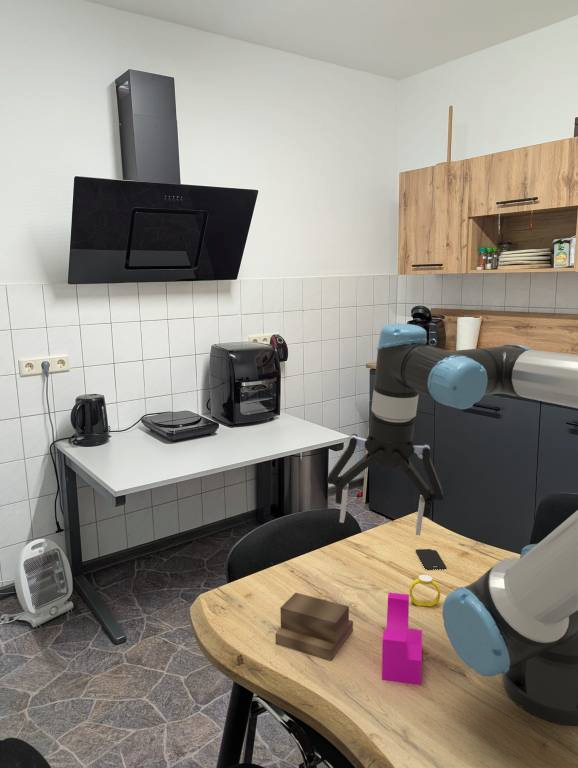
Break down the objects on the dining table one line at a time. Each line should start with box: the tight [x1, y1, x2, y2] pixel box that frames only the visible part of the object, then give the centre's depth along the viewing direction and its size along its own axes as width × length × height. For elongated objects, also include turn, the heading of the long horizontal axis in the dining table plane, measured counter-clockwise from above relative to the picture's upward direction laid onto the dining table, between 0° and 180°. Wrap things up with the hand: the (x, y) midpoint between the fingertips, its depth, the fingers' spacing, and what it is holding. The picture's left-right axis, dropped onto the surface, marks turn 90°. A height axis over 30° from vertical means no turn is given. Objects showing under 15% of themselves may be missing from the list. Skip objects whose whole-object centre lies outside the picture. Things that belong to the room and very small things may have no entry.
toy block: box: [381, 592, 423, 686], centre depth 102 cm, size 15×6×8 cm, turn 167°
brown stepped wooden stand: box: [275, 592, 354, 661], centre depth 107 cm, size 11×10×6 cm
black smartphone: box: [415, 548, 447, 571], centre depth 138 cm, size 5×1×10 cm
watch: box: [409, 574, 441, 608], centre depth 118 cm, size 6×3×6 cm, turn 80°
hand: (379, 525), depth 106 cm, fingers open, 13 cm apart
